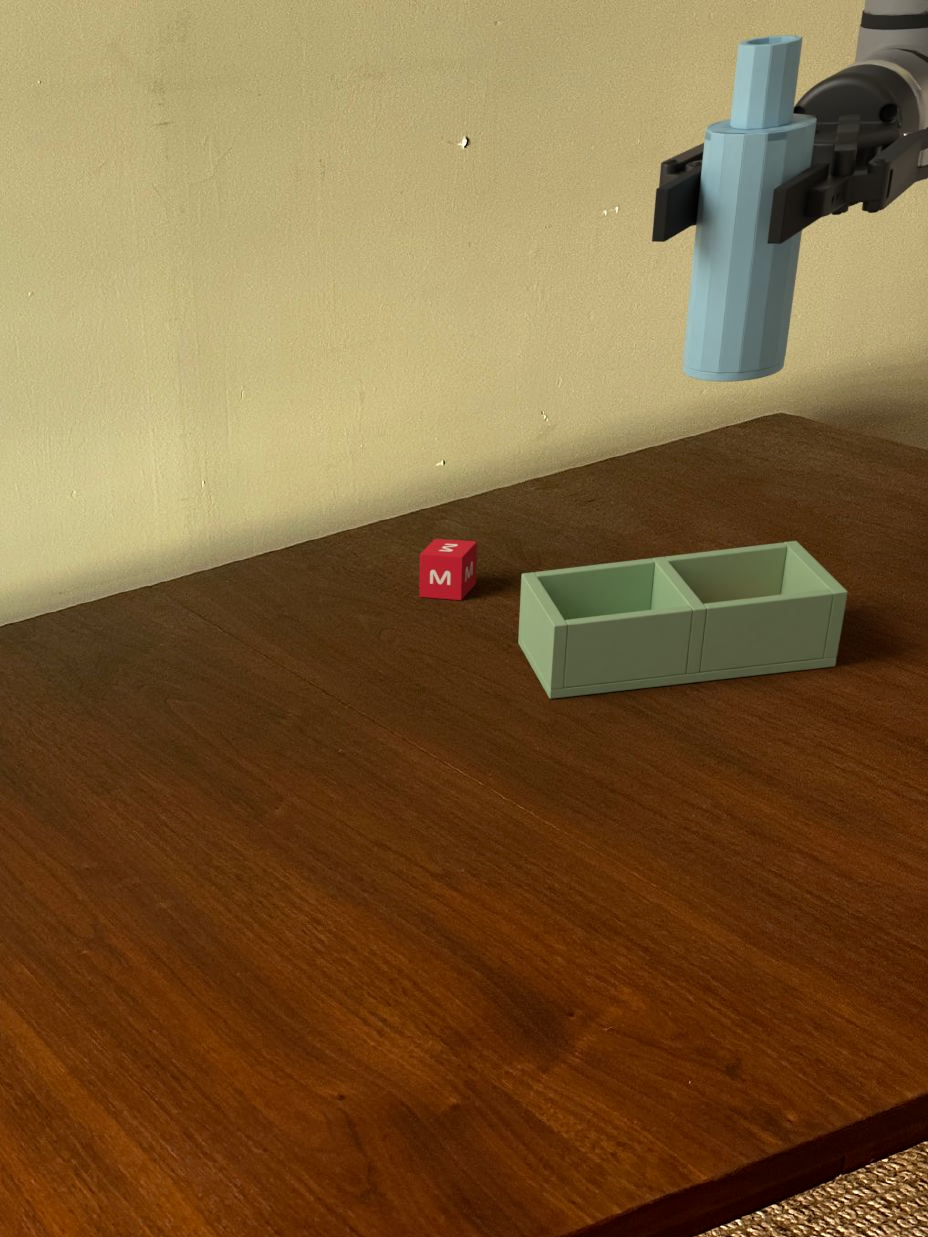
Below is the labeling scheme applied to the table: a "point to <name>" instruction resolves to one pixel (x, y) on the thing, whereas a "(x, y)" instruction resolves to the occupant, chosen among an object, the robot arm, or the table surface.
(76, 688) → the table surface
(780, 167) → the bottle
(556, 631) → the holder
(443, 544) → the red letter cube
